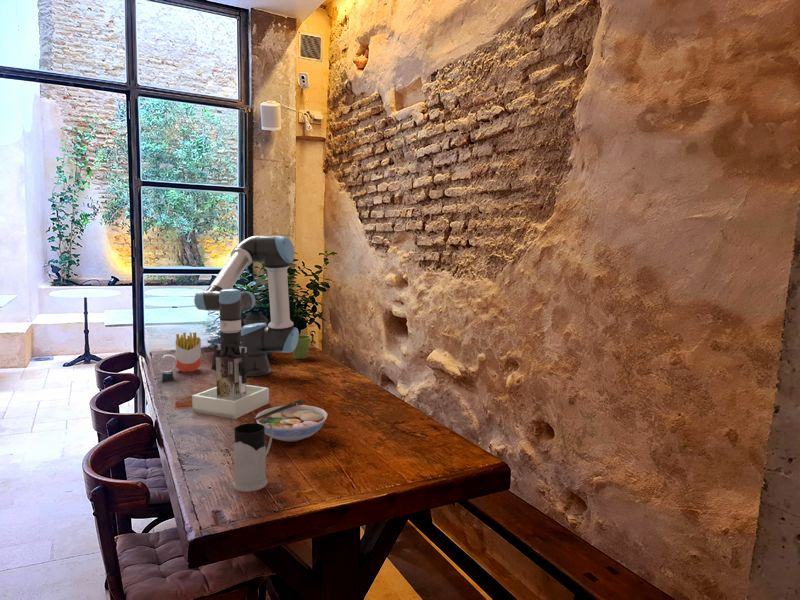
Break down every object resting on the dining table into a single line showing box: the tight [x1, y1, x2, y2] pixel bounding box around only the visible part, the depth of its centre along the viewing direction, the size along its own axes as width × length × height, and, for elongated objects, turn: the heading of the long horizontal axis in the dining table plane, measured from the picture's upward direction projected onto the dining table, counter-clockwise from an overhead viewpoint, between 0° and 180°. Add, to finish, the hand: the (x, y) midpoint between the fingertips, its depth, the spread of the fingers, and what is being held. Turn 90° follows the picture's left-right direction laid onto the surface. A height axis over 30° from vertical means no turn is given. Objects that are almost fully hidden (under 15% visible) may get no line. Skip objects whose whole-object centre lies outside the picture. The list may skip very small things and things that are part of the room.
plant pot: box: [292, 334, 312, 360], centre depth 285 cm, size 12×12×11 cm
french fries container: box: [175, 331, 202, 373], centre depth 253 cm, size 5×11×18 cm, turn 105°
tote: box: [191, 384, 270, 420], centre depth 201 cm, size 19×20×6 cm
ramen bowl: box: [247, 399, 329, 443], centre depth 171 cm, size 25×23×8 cm
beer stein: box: [240, 310, 273, 361], centre depth 281 cm, size 16×19×25 cm
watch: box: [156, 354, 177, 382], centre depth 238 cm, size 6×8×11 cm
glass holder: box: [232, 422, 273, 492], centre depth 141 cm, size 9×14×15 cm, turn 159°
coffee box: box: [215, 355, 247, 401], centre depth 200 cm, size 9×6×16 cm
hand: (231, 390), depth 200 cm, fingers closed on coffee box, 9 cm apart
